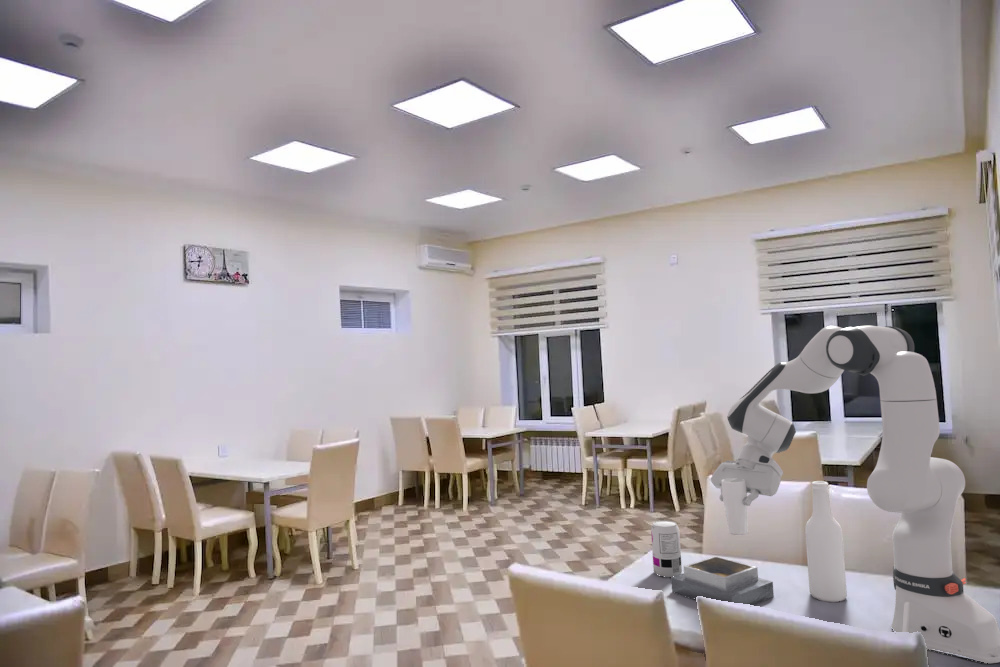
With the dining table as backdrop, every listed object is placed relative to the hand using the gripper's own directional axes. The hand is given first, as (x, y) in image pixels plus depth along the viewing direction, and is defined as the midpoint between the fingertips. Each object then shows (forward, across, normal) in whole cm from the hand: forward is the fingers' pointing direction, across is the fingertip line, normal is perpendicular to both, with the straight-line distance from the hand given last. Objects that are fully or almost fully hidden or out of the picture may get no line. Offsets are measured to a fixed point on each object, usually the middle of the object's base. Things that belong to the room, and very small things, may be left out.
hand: (733, 502), depth 183 cm
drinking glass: (+6, 0, +7) cm, 9 cm away
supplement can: (+22, -19, +10) cm, 31 cm away
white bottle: (+10, +21, +23) cm, 32 cm away
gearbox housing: (+24, +2, +9) cm, 25 cm away
